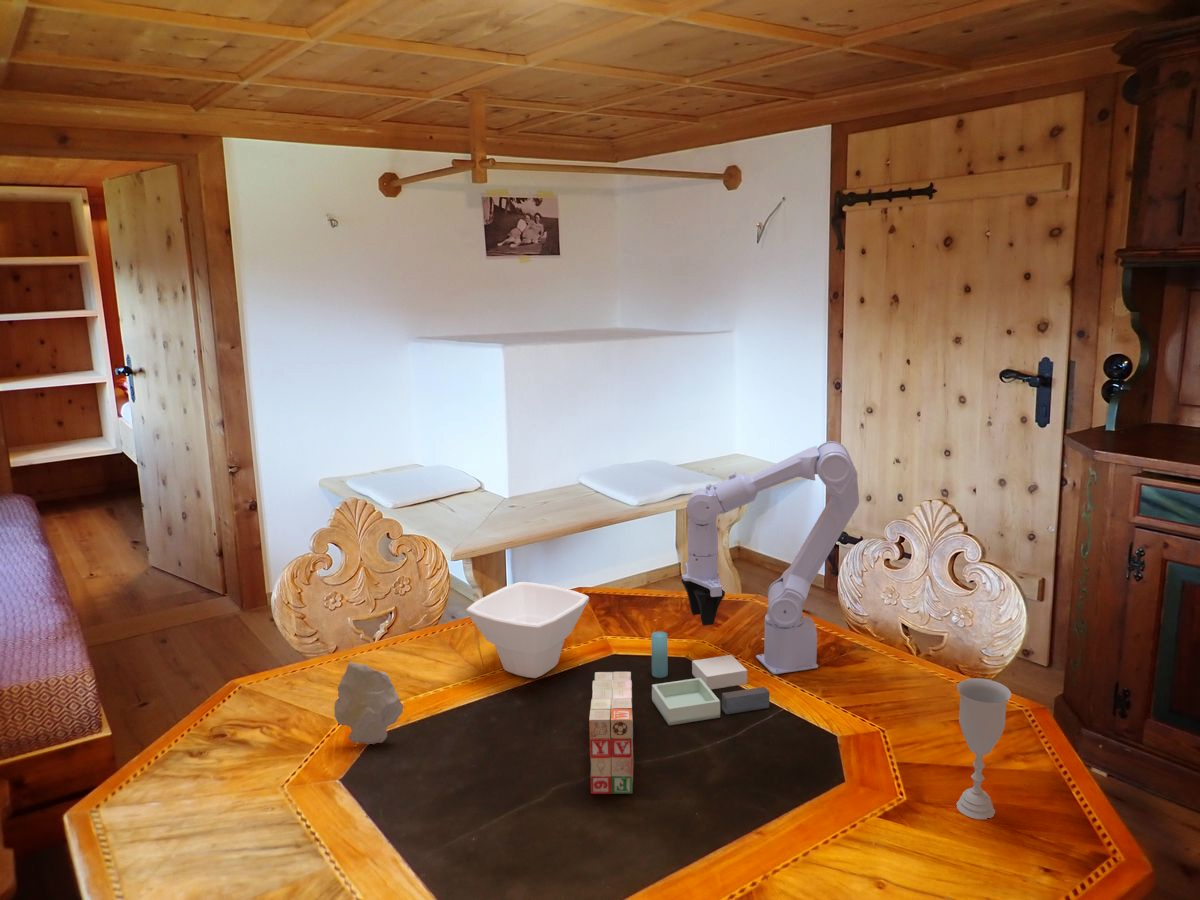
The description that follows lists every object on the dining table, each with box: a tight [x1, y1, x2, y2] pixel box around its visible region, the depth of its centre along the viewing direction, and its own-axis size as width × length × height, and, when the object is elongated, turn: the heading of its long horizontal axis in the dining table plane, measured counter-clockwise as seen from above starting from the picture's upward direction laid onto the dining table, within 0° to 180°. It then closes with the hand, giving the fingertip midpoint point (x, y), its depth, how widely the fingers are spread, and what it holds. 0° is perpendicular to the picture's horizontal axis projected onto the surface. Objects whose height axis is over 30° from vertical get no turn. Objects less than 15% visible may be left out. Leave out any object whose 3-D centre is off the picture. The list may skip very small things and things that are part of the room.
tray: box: [651, 677, 721, 726], centre depth 155 cm, size 9×9×3 cm
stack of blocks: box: [588, 671, 634, 795], centre depth 140 cm, size 21×6×12 cm, turn 178°
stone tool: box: [333, 661, 404, 746], centre depth 144 cm, size 11×4×15 cm, turn 95°
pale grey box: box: [691, 654, 748, 691], centre depth 166 cm, size 8×7×3 cm
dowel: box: [650, 630, 669, 679], centre depth 167 cm, size 3×3×8 cm
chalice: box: [956, 677, 1012, 820], centre depth 123 cm, size 7×7×18 cm
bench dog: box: [721, 686, 771, 715], centre depth 154 cm, size 8×2×3 cm, turn 105°
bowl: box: [465, 581, 590, 679], centre depth 170 cm, size 19×19×14 cm
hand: (702, 619), depth 172 cm, fingers open, 5 cm apart
